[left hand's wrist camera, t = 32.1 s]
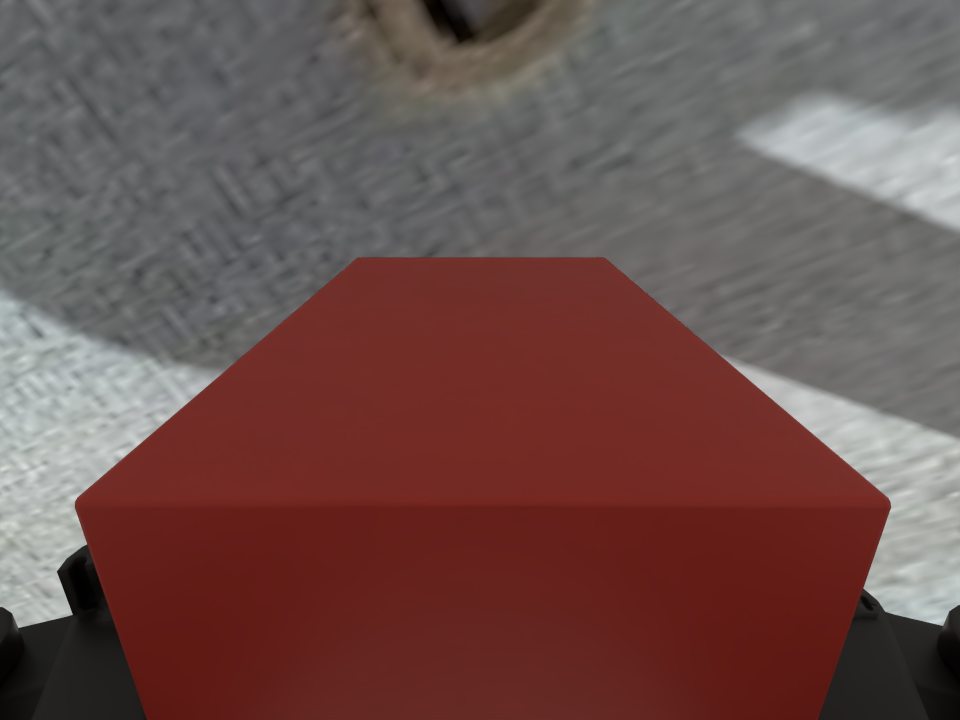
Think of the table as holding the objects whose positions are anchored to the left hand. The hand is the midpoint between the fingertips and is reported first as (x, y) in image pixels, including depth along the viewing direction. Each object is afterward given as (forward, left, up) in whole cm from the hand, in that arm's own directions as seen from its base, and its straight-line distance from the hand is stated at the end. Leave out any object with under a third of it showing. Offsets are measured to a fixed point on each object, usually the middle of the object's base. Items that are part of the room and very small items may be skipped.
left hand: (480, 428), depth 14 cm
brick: (0, 0, -3) cm, 3 cm away
